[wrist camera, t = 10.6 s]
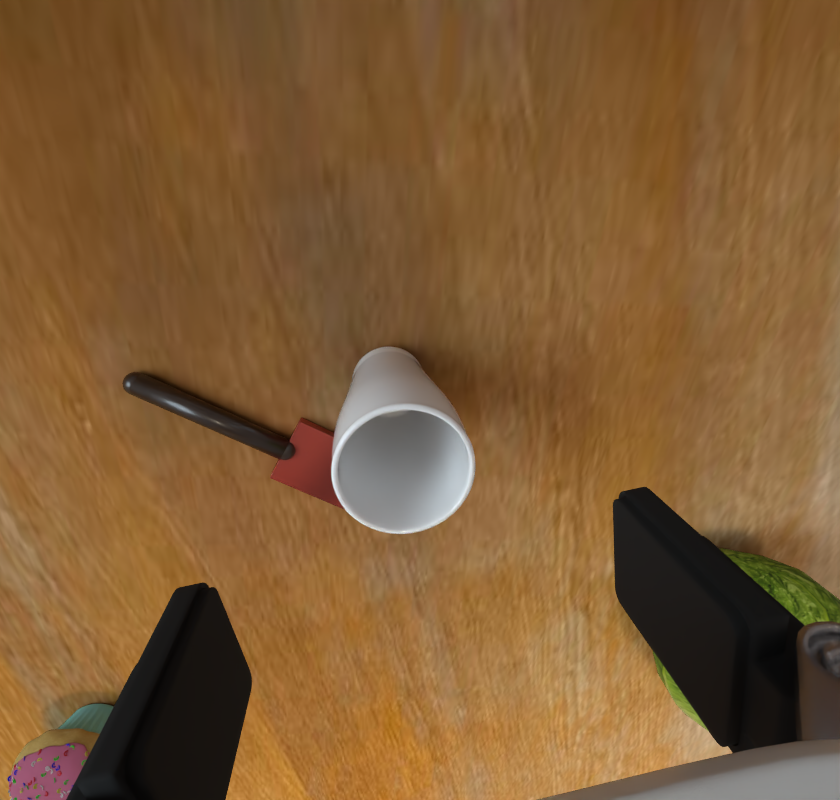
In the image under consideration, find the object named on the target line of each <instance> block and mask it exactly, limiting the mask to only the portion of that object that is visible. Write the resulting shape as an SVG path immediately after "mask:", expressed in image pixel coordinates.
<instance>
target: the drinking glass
mask: <svg viewBox="0 0 840 800" xmlns="http://www.w3.org/2000/svg"><path fill="white" fill-rule="evenodd" d="M474 476H475V455H474V450H473V447H472V444H471V442H470V439H469V437H468V434H467V432H466V429H465V427H464V425H463V423H462V421H461V419H460V417H459V415H458V413H457V411H456V410H455V408H454V406H453V405H452V403H451V402H450V401H449V399H448V398H447V397H446V395H445V394H444V393H443V392H442V391H441V389H440V388H439V387H438V386H437V385H436V384H435V383H434V382H433V380H432V379H431V378H430V377H429V376H428V375H427V373H426V372H425V371H424V370H423V369H422V367H421V365H420V363H419V362H418V360H417V359H416V358H415V357H414V356H413V355H412V354H410V353H409V352H407V351H405V350H403V349H401V348H397V347H380V348H377V349H374V350H372V351H370V352H368V353H367V354H366V355H364V356H363V357H362V358H361V360H360V361H359V362H358V364H357V365H356V367H355V369H354V372H353V376H352V382H351V385H350V388H349V390H348V393H347V395H346V398H345V400H344V403H343V405H342V408H341V411H340V413H339V416H338V419H337V423H336V427H335V431H334V437H333V445H332V464H331V477H332V484H333V488H334V491H335V493H336V496H337V498H338V500H339V501H340V503H341V505H342V506H343V507H344V509H345V510H346V511H347V512H348V513H349V514H350V515H351V516H352V517H353V518H354V519H356V520H357V521H359V522H360V523H362V524H363V525H365V526H367V527H369V528H372V529H375V530H377V531H381V532H386V533H393V534H407V533H415V532H419V531H423V530H426V529H429V528H431V527H434V526H436V525H438V524H439V523H441V522H443V521H444V520H446V519H447V518H449V517H450V516H451V515H452V514H453V513H454V512H455V511H456V510H457V509H458V508H459V507H460V506H461V505H462V503H463V502H464V501H465V499H466V497H467V496H468V494H469V492H470V489H471V487H472V484H473V481H474Z"/></svg>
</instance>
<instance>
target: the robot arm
mask: <svg viewBox="0 0 840 800" xmlns="http://www.w3.org/2000/svg"><path fill="white" fill-rule="evenodd" d="M613 523H614V561H615V590H616V594H617V597H618V600H619V602H620V604H621V605H622V607H623V608H624V610H625V611H626V613H627V614H628V615H629V617H630V618H631V620H632V621H633V623H634V624H635V626H636V627H637V628H638V630H639V631H640V633H641V634H642V636H643V637H644V639H645V640H646V641H647V643H648V644H649V646H650V647H651V649H652V650H653V651H654V653H655V654H656V656H657V657H658V659H659V660H660V662H661V663H662V664H663V666H664V667H665V669H666V670H667V672H668V673H669V675H670V676H671V677H672V679H673V680H674V682H675V683H676V685H677V686H678V687H679V689H680V690H681V692H682V693H683V695H684V696H685V698H686V699H687V700H688V702H689V703H690V705H691V706H692V708H693V709H694V711H695V712H696V713H697V715H698V716H699V718H700V719H701V721H702V722H703V724H704V725H705V726H706V728H707V729H708V731H709V732H710V734H711V735H712V736H713V738H714V739H715V740H716V742H717V743H718V744H719V745H720V746H722V747H726V746H728V747H729V748H730V749H731V751H732V752H733V753H732V754H727V755H723V756H718V757H714V758H709V759H705V760H700V761H696V762H691V763H687V764H682V765H678V766H674V767H669V768H665V769H661V770H657V771H653V772H649V773H645V774H641V775H637V776H633V777H628V778H624V779H620V780H616V781H612V782H608V783H604V784H600V785H596V786H592V787H587V788H583V789H579V790H575V791H571V792H567V793H563V794H559V795H555V796H551V797H546V798H542V799H538V800H840V623H838V622H832V621H821V622H813V623H810V624H807V625H804V624H803V623H802V622H800V621H799V620H798V619H797V618H796V617H795V616H794V615H793V614H791V613H790V612H789V611H788V610H787V609H786V608H785V607H784V606H782V605H781V604H780V603H779V602H778V601H777V600H776V599H775V598H774V597H772V596H771V595H770V594H769V593H768V592H767V591H766V590H765V589H763V588H762V587H761V586H760V585H759V584H758V583H757V582H756V581H754V580H753V579H752V578H751V577H750V576H749V575H748V574H747V573H746V572H744V571H743V570H742V569H741V568H740V567H739V566H738V565H737V564H735V563H734V562H733V561H732V560H731V559H730V558H729V557H728V556H726V555H725V554H724V553H723V552H722V551H721V550H720V549H719V548H717V547H716V546H715V545H714V544H713V543H712V542H711V541H710V540H708V539H707V538H705V537H704V536H701V535H700V534H699V533H698V532H696V531H695V530H694V529H693V528H692V527H691V526H690V525H689V524H688V523H686V522H685V521H684V520H683V519H682V518H681V517H680V516H679V515H678V514H676V513H675V512H674V511H673V510H672V509H671V508H670V507H669V506H668V505H666V504H665V503H664V502H663V501H662V500H661V499H660V498H659V497H658V496H656V495H655V494H654V493H653V492H652V491H651V490H650V489H648V488H647V487H641V488H636V489H632V490H627V491H623V492H621V493H620V495H619V499H616V500H614V502H613ZM251 687H252V678H251V673H250V670H249V667H248V665H247V662H246V660H245V657H244V655H243V652H242V650H241V647H240V645H239V643H238V640H237V638H236V635H235V633H234V630H233V628H232V625H231V623H230V621H229V618H228V616H227V613H226V611H225V608H224V606H223V603H222V601H221V598H220V596H219V594H218V591H217V590H216V588H215V587H211V588H209V587H208V585H207V584H206V583H199V584H194V585H189V586H185V587H180V588H178V589H176V590H175V592H174V593H173V595H172V597H171V599H170V601H169V603H168V605H167V607H166V609H165V611H164V613H163V615H162V617H161V619H160V621H159V622H158V624H157V626H156V628H155V630H154V632H153V634H152V636H151V638H150V640H149V642H148V644H147V646H146V648H145V650H144V652H143V654H142V656H141V658H140V660H139V662H138V663H137V665H136V666H135V668H134V669H133V671H132V672H131V674H130V676H129V678H128V680H127V682H126V684H125V686H124V688H123V690H122V692H121V694H120V696H119V698H118V700H117V702H116V704H115V705H114V707H113V709H112V711H111V713H110V715H109V717H108V719H107V721H106V723H105V725H104V727H103V729H102V731H101V733H100V735H99V737H98V739H97V741H96V742H95V744H94V746H93V748H92V750H91V752H90V754H89V756H88V758H87V760H86V762H85V764H84V766H83V768H82V770H81V772H80V774H79V776H78V778H77V779H76V781H75V783H74V785H73V787H72V789H71V791H70V793H69V795H68V797H67V799H66V800H225V799H226V795H227V790H228V786H229V782H230V778H231V773H232V769H233V765H234V761H235V756H236V752H237V748H238V744H239V739H240V735H241V731H242V727H243V722H244V718H245V714H246V710H247V705H248V701H249V697H250V693H251Z"/></svg>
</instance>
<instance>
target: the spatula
mask: <svg viewBox="0 0 840 800" xmlns="http://www.w3.org/2000/svg"><path fill="white" fill-rule="evenodd" d="M123 387H124V389H125V391H126V392H128V393H129V394H131V395H133V396H136V397H138V398H140V399H143V400H145V401H147V402H150V403H152V404H154V405H156V406H159V407H161V408H163V409H166V410H168V411H170V412H172V413H175V414H177V415H179V416H182V417H184V418H186V419H188V420H191V421H193V422H195V423H198V424H200V425H202V426H204V427H207V428H209V429H211V430H214V431H216V432H218V433H220V434H223V435H225V436H227V437H230V438H232V439H234V440H236V441H239V442H241V443H243V444H246V445H248V446H250V447H252V448H255V449H257V450H259V451H262V452H264V453H266V454H268V455H271V456H273V457H275V458H278V459H279V460H278V462H277V464H276V466H275V468H274V470H273V472H272V474H271V476H270V478H272V479H274V480H276V481H279V482H281V483H284V484H286V485H288V486H291V487H293V488H295V489H298V490H300V491H302V492H305V493H307V494H309V495H312V496H314V497H317V498H319V499H321V500H324V501H326V502H328V503H331V504H333V505H335V506H338V507H340V508H342V509H344V507H343V506H342V505H341V503H340V501H339V500H338V498H337V496H336V493H335V491H334V488H333V484H332V477H331V464H332V445H333V437H334V432H331V431H329V430H327V429H325V428H323V427H321V426H319V425H316V424H314V423H312V422H310V421H308V420H306V419H304V418H301V419H300V421H299V423H298V424H297V426H296V428H295V430H294V432H293V434H292V436H291V438H290V440H289V439H286V438H284V437H282V436H280V435H277V434H275V433H273V432H271V431H269V430H266V429H264V428H262V427H260V426H257V425H255V424H253V423H251V422H249V421H246V420H244V419H242V418H240V417H238V416H235V415H233V414H231V413H229V412H226V411H224V410H222V409H220V408H218V407H215V406H213V405H211V404H209V403H206V402H204V401H202V400H200V399H198V398H195V397H193V396H191V395H189V394H187V393H184V392H182V391H180V390H178V389H175V388H173V387H171V386H169V385H167V384H164V383H162V382H160V381H158V380H155V379H153V378H151V377H149V376H147V375H144V374H142V373H139V372H133V373H130V374H128V375H127V376H126V377H125V378H124V380H123Z"/></svg>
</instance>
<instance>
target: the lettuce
mask: <svg viewBox="0 0 840 800" xmlns="http://www.w3.org/2000/svg"><path fill="white" fill-rule="evenodd" d="M720 550H721V551H722V552H723V553H724V554H725V555H726V556H728V557H729V558H730V559H731V560H732V561H733V562H734V563H735V564H737V565H738V566H739V567H740V568H741V569H742V570H743V571H744V572H746V573H747V574H748V575H749V576H750V577H751V578H752V579H753V580H754V581H756V582H757V583H758V584H759V585H760V586H761V587H762V588H763V589H765V590H766V591H767V592H768V593H769V594H770V595H771V596H772V597H774V598H775V599H776V600H777V601H778V602H779V603H780V604H781V605H782V606H784V607H785V608H786V609H787V610H788V611H789V612H790V613H791V614H793V615H794V616H795V617H796V618H797V619H798V620H799V621H800V622H802V623H803V624H804V625H807V624H810V623H813V622H821V621H832V622H838V623H840V600H839V599H838V598H837V597H835V596H834V595H833V594H831V593H830V592H829V591H827V590H826V589H825V588H824V587H822V586H821V585H820V584H818V583H817V582H816V581H814V580H813V579H812V578H811V577H809V576H808V575H807V574H805V573H804V572H802V571H800V570H799V569H797V568H794V567H791V566H788V565H786V564H783V563H780V562H778V561H775V560H772V559H769V558H767V557H764V556H760V555H755V554H750V553H744V552H739V551H734V550H729V549H724V548H720ZM653 654H654V659H655V663H656V667H657V671H658V674H659V676H660V678H661V679H662V681H663V683H664V685H665V686H666V688H667V690H668V691H669V693H670V695H671V696H672V698H673V700H674V702H675V703H676V705H677V706H678V707H679V708H680V709H681V710H682V711H683V712H684V713H685V714H686V715H687V716H688V717H690V718H691V719H692V720H694V721H695V722H697V723H698V724H699V725H701V726H702V727H703V728H705V729H706V730H708V729H707V728H706V726H705V725H704V724H703V722H702V721H701V719H700V718H699V716H698V715H697V713H696V712H695V711H694V709H693V708H692V706H691V705H690V703H689V702H688V700H687V699H686V698H685V696H684V695H683V693H682V692H681V690H680V689H679V687H678V686H677V685H676V683H675V682H674V680H673V679H672V677H671V676H670V675H669V673H668V672H667V670H666V669H665V667H664V666H663V664H662V663H661V662H660V660H659V659H658V657H657V656H656V654H655V653H654V651H653Z"/></svg>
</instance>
